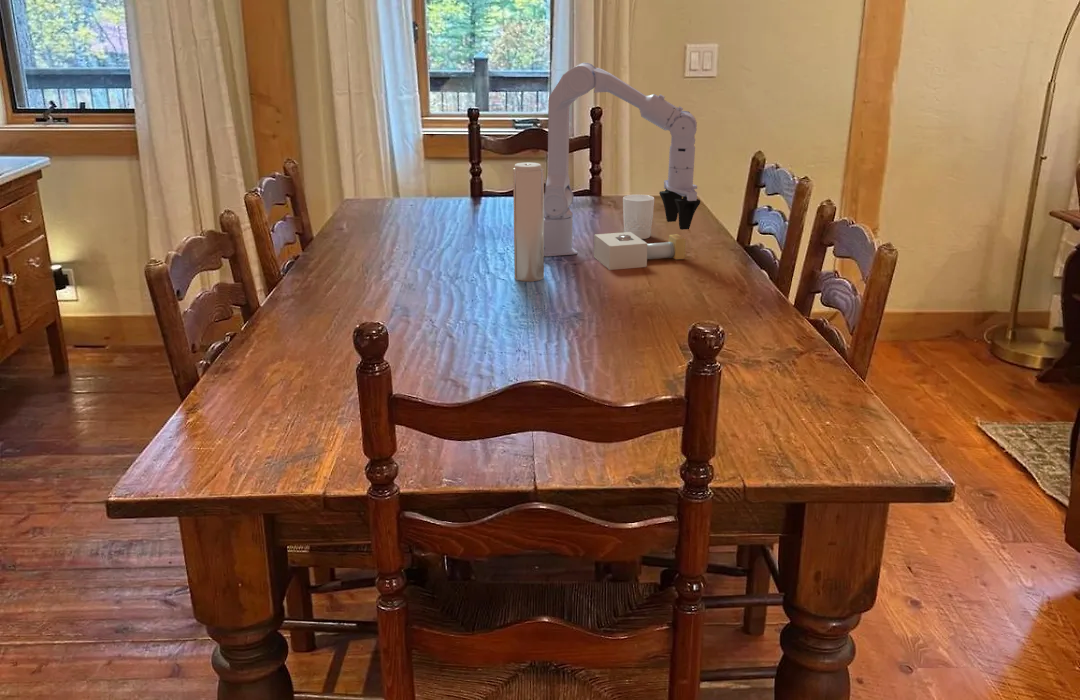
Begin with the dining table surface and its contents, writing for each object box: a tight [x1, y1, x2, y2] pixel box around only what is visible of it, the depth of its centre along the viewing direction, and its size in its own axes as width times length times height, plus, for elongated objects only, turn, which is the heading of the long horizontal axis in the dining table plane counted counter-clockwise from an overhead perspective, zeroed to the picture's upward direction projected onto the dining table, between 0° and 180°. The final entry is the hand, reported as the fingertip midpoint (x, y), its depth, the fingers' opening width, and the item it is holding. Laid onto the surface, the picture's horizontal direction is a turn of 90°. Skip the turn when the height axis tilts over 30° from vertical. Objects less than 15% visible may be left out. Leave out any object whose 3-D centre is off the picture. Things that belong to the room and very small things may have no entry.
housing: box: [593, 231, 649, 271], centre depth 217 cm, size 9×11×6 cm
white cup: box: [622, 194, 655, 240], centre depth 239 cm, size 8×8×10 cm
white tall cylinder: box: [512, 161, 545, 283], centre depth 202 cm, size 6×6×25 cm
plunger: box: [619, 235, 631, 241], centre depth 217 cm, size 3×3×2 cm
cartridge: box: [647, 233, 687, 260], centre depth 220 cm, size 10×4×5 cm, turn 105°
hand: (677, 225), depth 219 cm, fingers open, 7 cm apart
